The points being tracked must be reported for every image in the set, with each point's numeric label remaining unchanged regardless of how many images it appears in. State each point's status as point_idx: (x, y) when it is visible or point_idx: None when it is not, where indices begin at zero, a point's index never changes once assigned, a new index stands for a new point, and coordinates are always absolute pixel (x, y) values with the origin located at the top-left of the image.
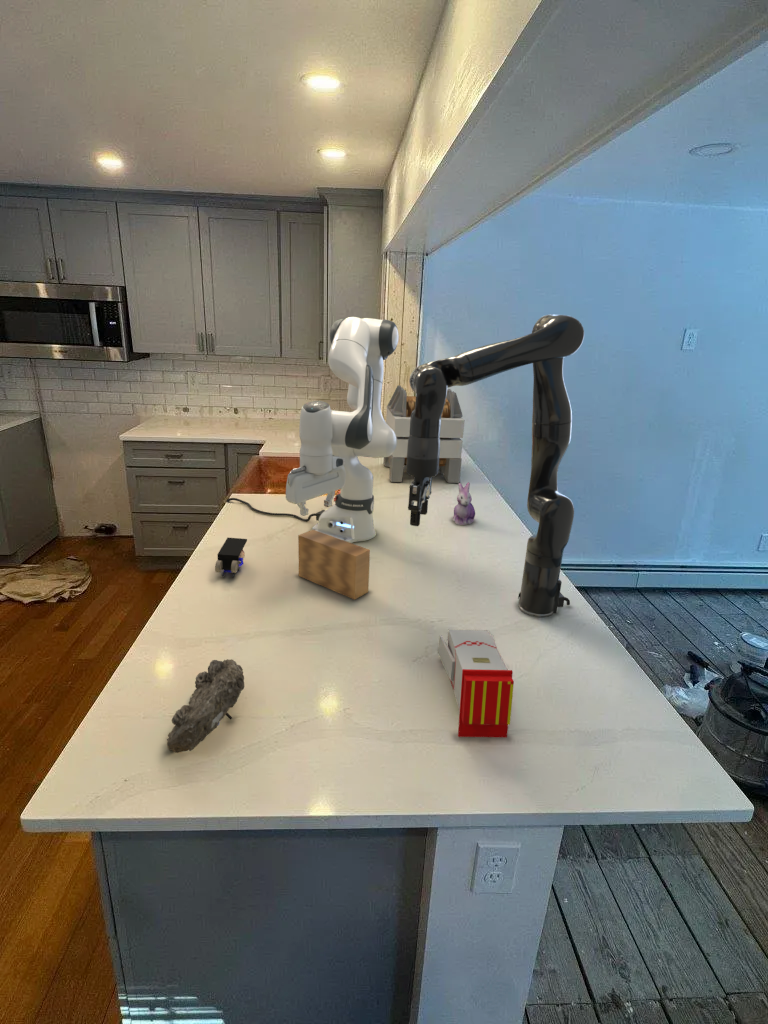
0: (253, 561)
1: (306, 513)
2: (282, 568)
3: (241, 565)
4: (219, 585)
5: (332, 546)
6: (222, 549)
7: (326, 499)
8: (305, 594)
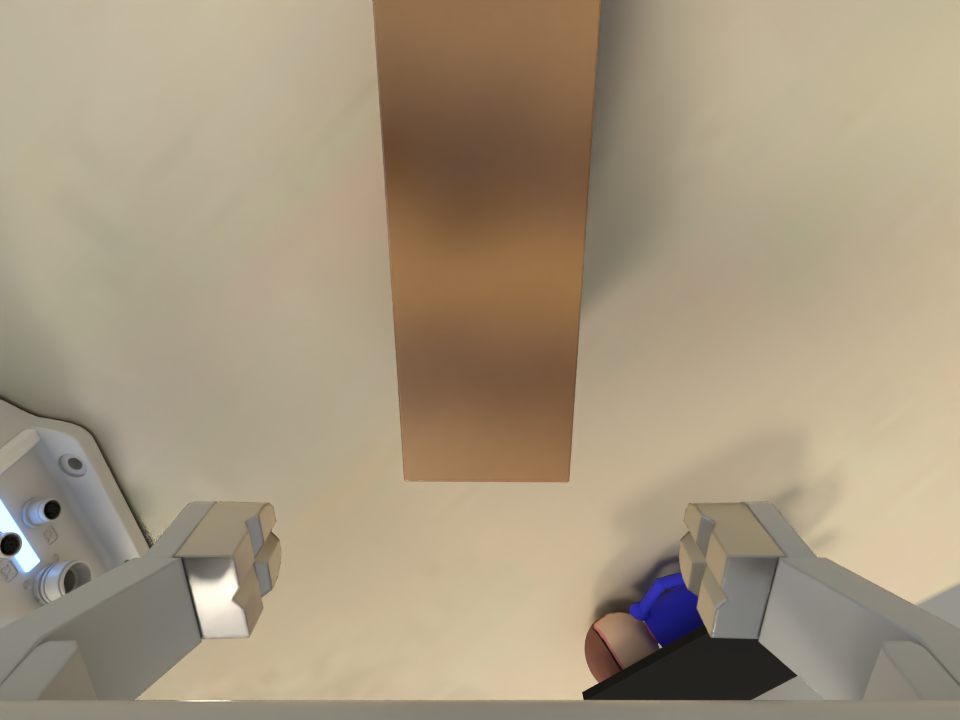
0: (560, 585)
1: (745, 513)
2: None
3: (672, 575)
4: (817, 525)
5: (572, 93)
6: (748, 692)
7: (197, 632)
8: (673, 184)
